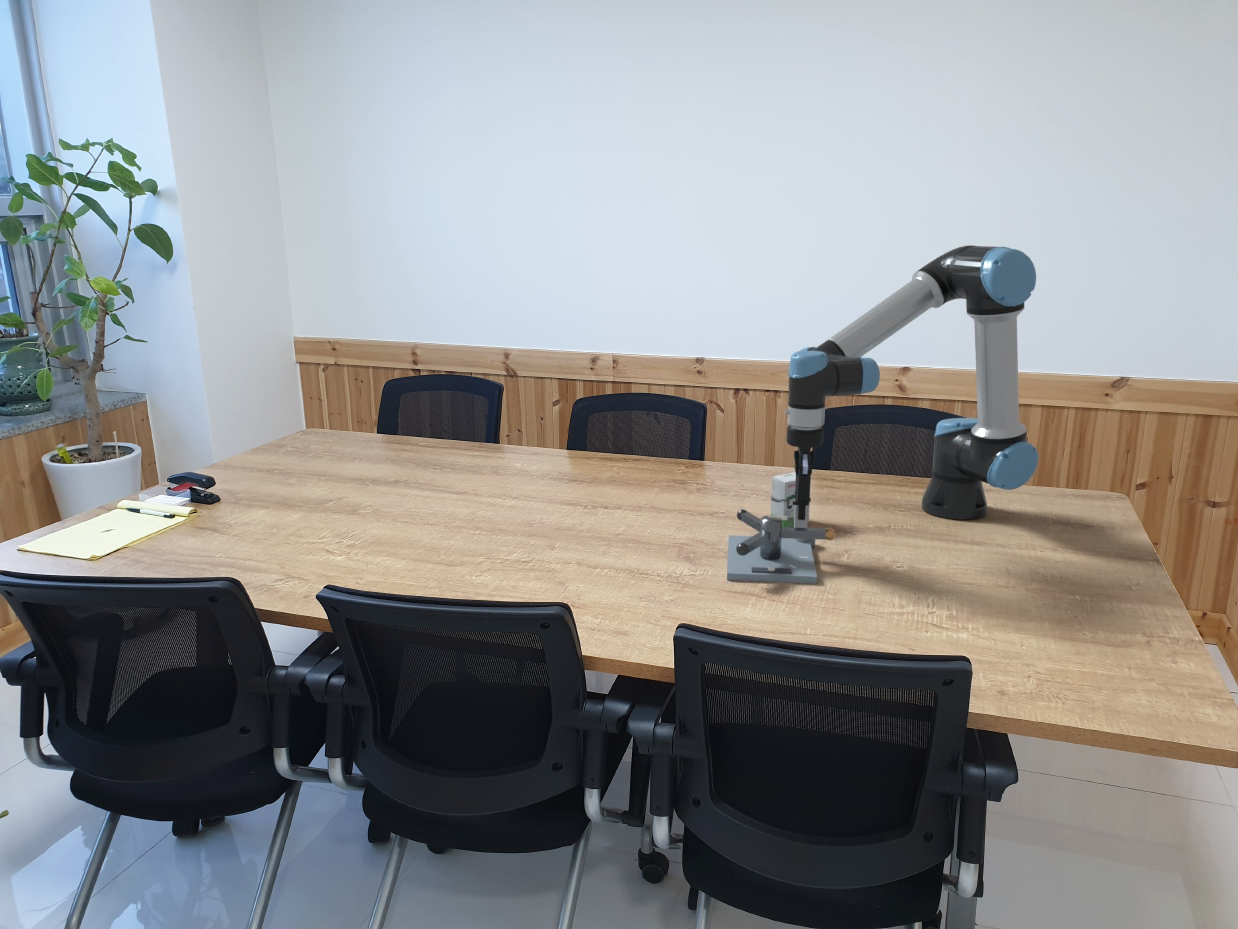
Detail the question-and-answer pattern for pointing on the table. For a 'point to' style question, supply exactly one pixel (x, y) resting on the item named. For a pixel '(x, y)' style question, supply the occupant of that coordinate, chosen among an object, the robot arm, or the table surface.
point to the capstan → (775, 534)
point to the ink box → (784, 498)
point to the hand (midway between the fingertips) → (800, 531)
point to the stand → (773, 562)
